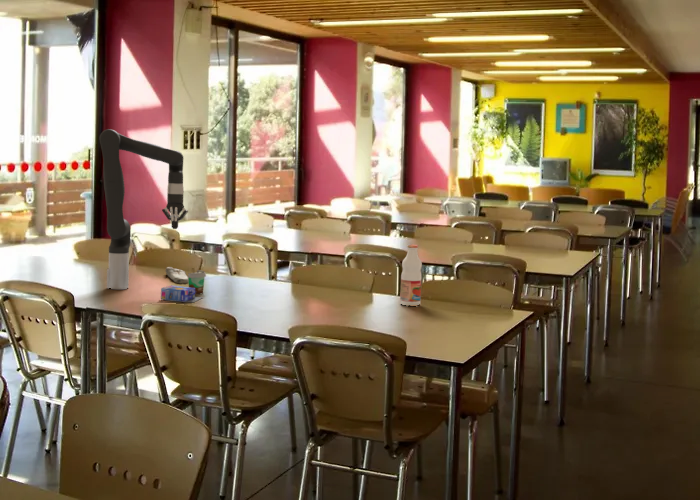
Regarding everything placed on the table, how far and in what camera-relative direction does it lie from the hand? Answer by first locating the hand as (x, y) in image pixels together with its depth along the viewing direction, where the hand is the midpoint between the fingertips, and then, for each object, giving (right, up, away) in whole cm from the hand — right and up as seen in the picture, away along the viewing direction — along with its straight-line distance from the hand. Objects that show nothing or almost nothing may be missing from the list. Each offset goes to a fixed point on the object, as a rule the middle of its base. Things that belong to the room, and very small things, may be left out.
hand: (174, 228), depth 434 cm
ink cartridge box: (+1, -29, -25) cm, 38 cm away
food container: (+12, -31, -6) cm, 34 cm away
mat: (+9, -33, -25) cm, 42 cm away
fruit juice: (+112, -36, -17) cm, 119 cm away
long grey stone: (-5, -25, +35) cm, 43 cm away
